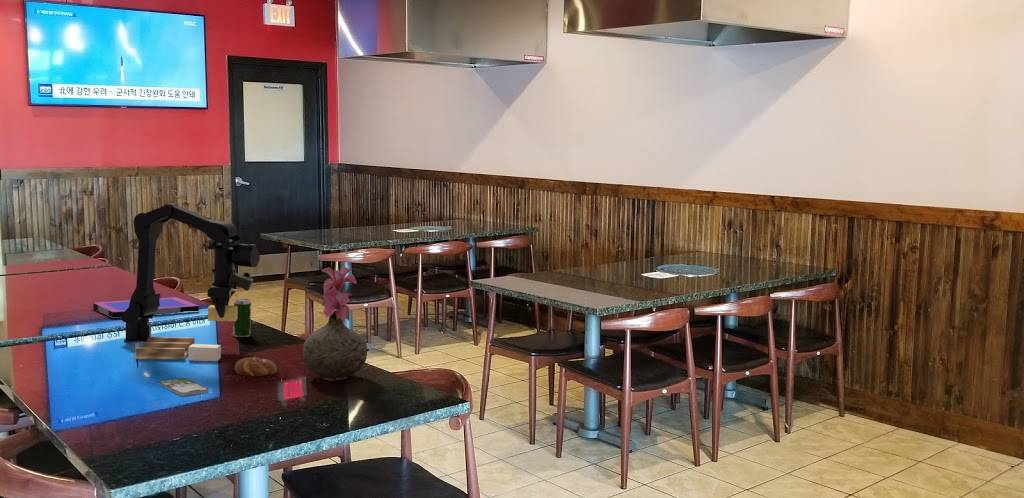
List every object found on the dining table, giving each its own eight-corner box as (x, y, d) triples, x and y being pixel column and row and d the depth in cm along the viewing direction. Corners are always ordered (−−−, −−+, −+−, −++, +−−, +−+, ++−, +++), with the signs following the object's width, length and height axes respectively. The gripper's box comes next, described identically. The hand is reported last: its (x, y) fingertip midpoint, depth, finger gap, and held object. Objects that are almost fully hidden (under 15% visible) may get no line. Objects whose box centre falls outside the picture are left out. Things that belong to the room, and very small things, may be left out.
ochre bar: (207, 320, 262) (208, 307, 262) (209, 318, 266) (210, 305, 266) (235, 321, 264) (235, 308, 263) (237, 318, 268) (237, 305, 267)
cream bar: (188, 360, 250) (188, 347, 249) (192, 357, 254) (192, 343, 253) (216, 361, 250) (217, 348, 250) (220, 358, 254) (220, 345, 254)
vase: (311, 388, 227) (314, 272, 224) (295, 372, 242) (297, 264, 239) (373, 383, 235) (377, 271, 232) (354, 368, 250) (357, 263, 247)
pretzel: (286, 371, 244) (286, 358, 244) (262, 380, 234) (263, 366, 233) (250, 365, 248) (250, 352, 248) (225, 373, 238) (225, 360, 237)
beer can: (235, 338, 281) (236, 301, 279) (231, 335, 285) (231, 298, 284) (252, 337, 284) (253, 300, 282) (247, 334, 288) (248, 298, 287)
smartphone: (184, 377, 229) (210, 388, 219) (184, 381, 229) (210, 393, 219) (155, 381, 224) (181, 393, 213) (155, 385, 224) (181, 397, 214)
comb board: (135, 358, 248) (135, 348, 248) (149, 346, 264) (149, 336, 263) (183, 359, 250) (183, 349, 250) (194, 347, 266) (194, 337, 265)
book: (93, 302, 316) (176, 297, 337) (93, 310, 317) (176, 304, 337) (113, 312, 301) (198, 305, 321) (113, 320, 301) (198, 313, 321)
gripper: (247, 269, 256) (246, 322, 257) (255, 262, 274) (254, 311, 275) (207, 268, 254) (206, 321, 255) (218, 260, 272) (217, 310, 274)
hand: (222, 316), depth 265 cm, fingers closed on ochre bar, 4 cm apart
